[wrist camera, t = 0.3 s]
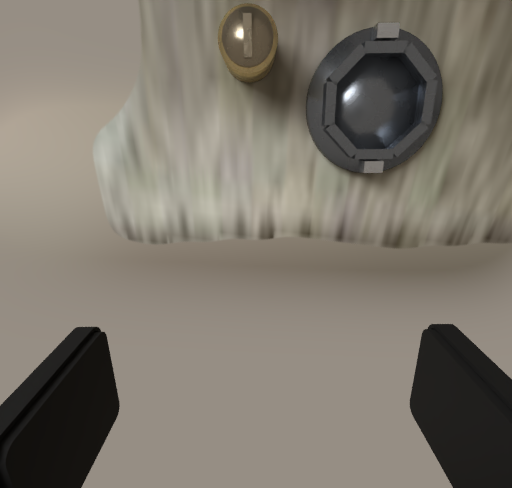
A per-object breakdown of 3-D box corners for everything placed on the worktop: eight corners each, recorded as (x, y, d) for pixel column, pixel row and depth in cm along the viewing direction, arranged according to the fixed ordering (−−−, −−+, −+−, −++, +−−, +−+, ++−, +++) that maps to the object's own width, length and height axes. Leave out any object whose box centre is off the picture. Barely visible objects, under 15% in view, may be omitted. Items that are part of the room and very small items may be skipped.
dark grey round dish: (308, 30, 32) (313, 21, 29) (448, 28, 32) (465, 18, 29) (303, 172, 36) (307, 175, 34) (425, 171, 36) (438, 174, 33)
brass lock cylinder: (223, 25, 32) (214, -2, 26) (274, 24, 32) (278, -3, 25) (225, 82, 33) (218, 70, 27) (274, 82, 33) (278, 70, 27)
